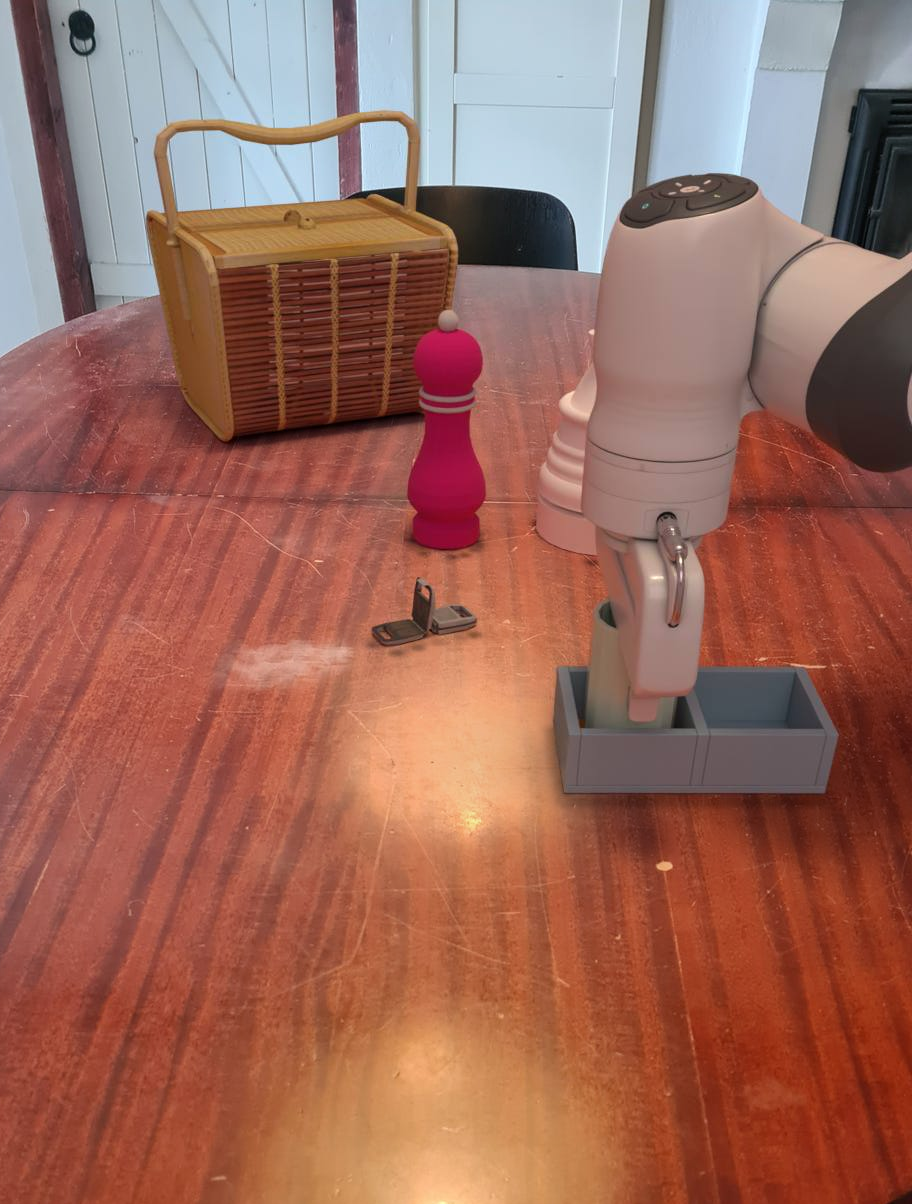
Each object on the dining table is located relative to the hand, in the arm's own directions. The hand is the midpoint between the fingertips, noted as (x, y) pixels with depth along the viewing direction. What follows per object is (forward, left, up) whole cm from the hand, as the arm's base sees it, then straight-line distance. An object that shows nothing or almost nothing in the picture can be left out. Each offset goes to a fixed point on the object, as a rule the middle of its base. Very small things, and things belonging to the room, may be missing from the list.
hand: (632, 687), depth 82 cm
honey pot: (-3, -40, -6) cm, 41 cm away
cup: (0, 0, -4) cm, 4 cm away
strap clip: (+14, -19, -6) cm, 24 cm away
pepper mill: (+12, -38, -6) cm, 40 cm away
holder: (-4, 0, -6) cm, 7 cm away
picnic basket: (+28, -75, -6) cm, 80 cm away
